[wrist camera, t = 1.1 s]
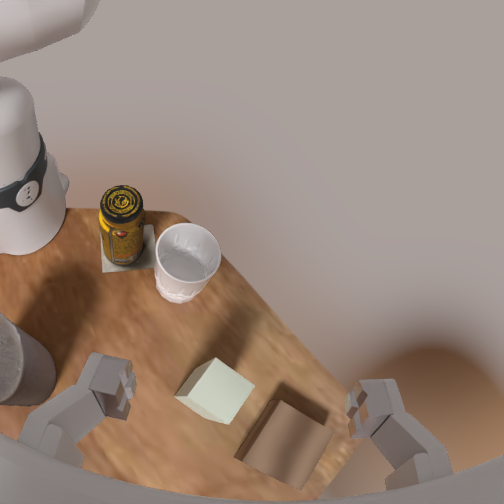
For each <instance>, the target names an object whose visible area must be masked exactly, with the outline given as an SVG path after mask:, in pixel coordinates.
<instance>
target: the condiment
mask: <svg viewBox="0 0 504 504" xmlns="http://www.w3.org/2000/svg"><path fill="white" fill-rule="evenodd" d="M100 207H101V209H100V213H99V224H100V232H101V254H102V270H103V273H104V272H116V271H127V270H134V269H146V268H153V267H155V254H156V243H155V235H154V227H153V225H144V222H145V213H144V209H143V200H142V197H141V195H140V193H139V192H138V191H137V190H136V189H135V188H132V187H129V186H127V185H126V186H125V185H120V186H115V187H113V188H111V189H109V190H107V192H105V194H104V195H103V197H102V200H101V202H100ZM137 261H138V262H137Z"/></svg>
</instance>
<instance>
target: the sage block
mask: <svg viewBox="0 0 504 504" xmlns="http://www.w3.org/2000/svg"><path fill="white" fill-rule="evenodd" d="M254 386H255V385H254V384H252V383H251V382H249V381H248V380H247V379H245V378H244V377H242V376H241V375H239V374H238V373H237V372H235V371H234V370H232V369H231V368H230V367H228V366H227V365H225V364H224V363H223V362H221V361H220V360H219V359H217V358H216V357H215V358H214V359H212V360H210V361H208V362H206V363H204V364H203V365H201V366H199V367H197V368H195V370H194V371H193V372H192V374H191V375H190V376H189V377H188V379H187V380H186V381H185V383H184V384H183V385H182V387H181V388H180V389H179V391H178V392H177V393H176V395H175V396H174V397H175V398H177V399H178V400H179V401H181V402H182V403H183V404H185V405H186V406H188V407H189V408H191V409H192V410H193V411H195V412H196V413H198V414H199V415H201V416H202V417H204V418H206V419H209V420H213V421H217V422H220V423H224V424H228V425H229V424H230V422H231V421H232V419H233V418H234V416H235V415H236V413H237V412H238V410H239V409H240V407H241V406H242V404H243V403H244V401H245V400H246V398H247V397H248V395H249V394H250V392H251V391H252V389H253V388H254Z"/></svg>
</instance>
